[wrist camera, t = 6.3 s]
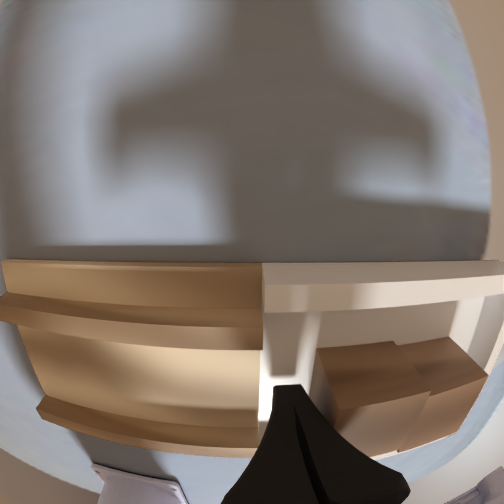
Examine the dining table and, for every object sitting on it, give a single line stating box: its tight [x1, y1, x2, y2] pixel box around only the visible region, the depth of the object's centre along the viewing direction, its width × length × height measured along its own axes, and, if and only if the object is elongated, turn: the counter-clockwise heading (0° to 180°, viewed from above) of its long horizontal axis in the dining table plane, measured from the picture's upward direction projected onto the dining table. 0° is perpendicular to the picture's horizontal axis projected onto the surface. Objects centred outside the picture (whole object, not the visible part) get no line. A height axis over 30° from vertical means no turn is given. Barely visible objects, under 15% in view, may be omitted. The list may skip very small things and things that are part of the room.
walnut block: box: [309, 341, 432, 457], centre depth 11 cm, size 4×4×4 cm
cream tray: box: [258, 260, 504, 460], centre depth 12 cm, size 12×14×2 cm
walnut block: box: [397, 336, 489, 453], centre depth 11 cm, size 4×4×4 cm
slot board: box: [0, 259, 263, 458], centre depth 12 cm, size 12×14×2 cm
